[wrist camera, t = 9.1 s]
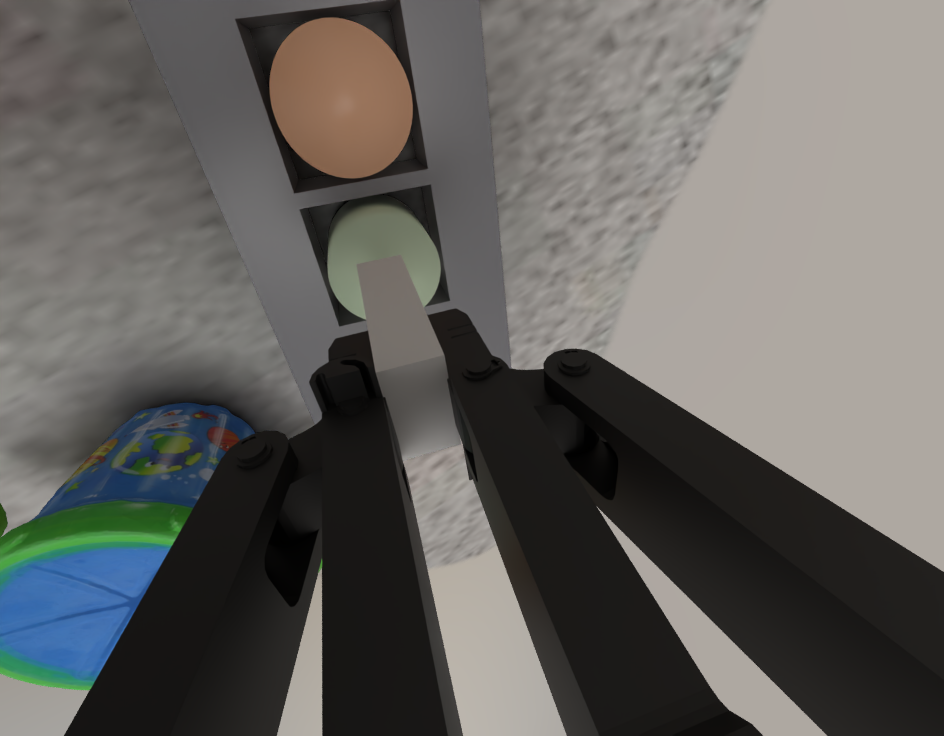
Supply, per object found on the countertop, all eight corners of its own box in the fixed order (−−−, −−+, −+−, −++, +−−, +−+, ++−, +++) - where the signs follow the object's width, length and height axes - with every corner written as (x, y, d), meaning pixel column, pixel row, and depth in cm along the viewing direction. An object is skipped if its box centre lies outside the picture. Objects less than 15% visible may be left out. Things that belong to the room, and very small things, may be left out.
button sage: (314, 204, 20) (311, 228, 16) (414, 185, 20) (430, 204, 17) (343, 297, 22) (346, 333, 19) (431, 277, 23) (448, 309, 20)
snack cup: (40, 516, 25) (-102, 728, 17) (-7, 358, 20) (-240, 549, 12) (326, 508, 31) (325, 664, 22) (344, 383, 26) (351, 524, 17)
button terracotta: (261, 38, 16) (245, 27, 13) (384, 23, 17) (396, 8, 14) (303, 171, 19) (298, 188, 16) (408, 152, 20) (423, 166, 16)
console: (158, 10, 16) (126, -3, 13) (455, -24, 17) (476, -42, 15) (324, 413, 26) (324, 446, 24) (497, 367, 28) (513, 394, 26)
